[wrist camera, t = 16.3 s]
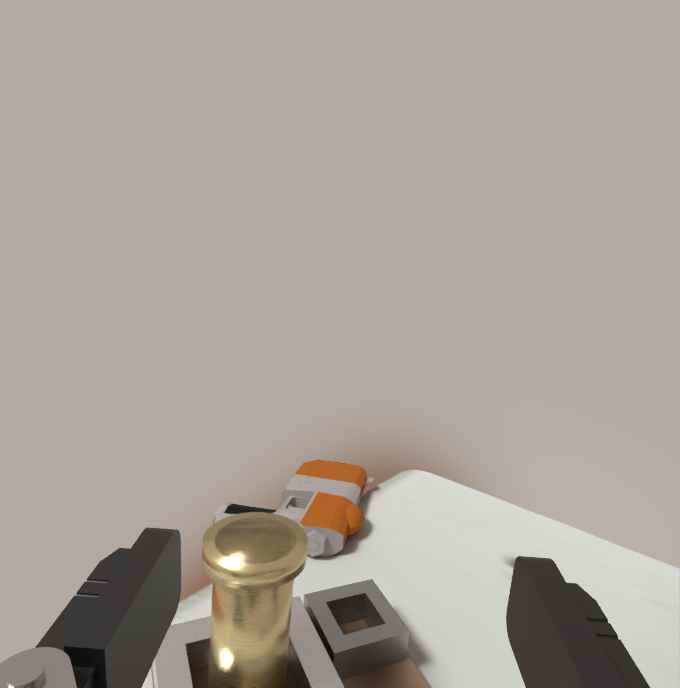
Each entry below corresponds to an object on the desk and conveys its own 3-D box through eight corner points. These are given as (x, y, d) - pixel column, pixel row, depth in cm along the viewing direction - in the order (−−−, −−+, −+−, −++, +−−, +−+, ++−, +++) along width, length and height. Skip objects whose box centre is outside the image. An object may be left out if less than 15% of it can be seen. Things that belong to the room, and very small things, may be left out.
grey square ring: (369, 604, 44) (372, 579, 44) (405, 660, 39) (409, 631, 38) (302, 621, 42) (304, 594, 41) (331, 683, 36) (334, 653, 36)
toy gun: (209, 512, 52) (354, 537, 50) (271, 445, 71) (379, 460, 68) (209, 542, 53) (352, 569, 50) (270, 468, 71) (377, 484, 68)
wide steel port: (297, 623, 41) (299, 596, 41) (355, 751, 32) (359, 718, 31) (151, 659, 37) (152, 629, 36) (167, 822, 27) (168, 784, 27)
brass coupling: (277, 654, 38) (288, 506, 36) (308, 729, 33) (324, 559, 30) (188, 679, 35) (194, 520, 33) (206, 765, 30) (214, 581, 28)
